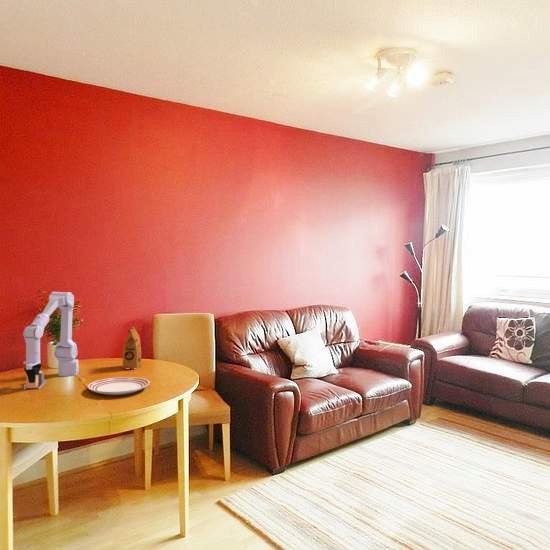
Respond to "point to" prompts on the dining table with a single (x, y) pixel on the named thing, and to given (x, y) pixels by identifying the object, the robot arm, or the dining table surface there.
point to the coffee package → (132, 350)
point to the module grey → (40, 377)
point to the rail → (36, 387)
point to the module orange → (32, 385)
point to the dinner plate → (118, 385)
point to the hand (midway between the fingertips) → (33, 381)
